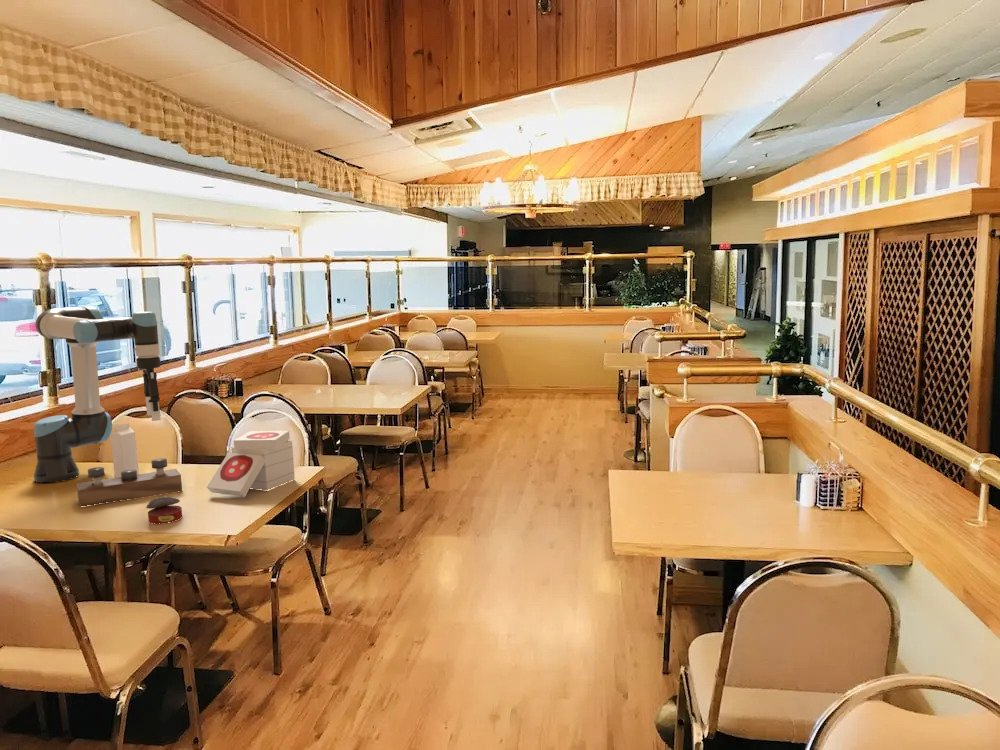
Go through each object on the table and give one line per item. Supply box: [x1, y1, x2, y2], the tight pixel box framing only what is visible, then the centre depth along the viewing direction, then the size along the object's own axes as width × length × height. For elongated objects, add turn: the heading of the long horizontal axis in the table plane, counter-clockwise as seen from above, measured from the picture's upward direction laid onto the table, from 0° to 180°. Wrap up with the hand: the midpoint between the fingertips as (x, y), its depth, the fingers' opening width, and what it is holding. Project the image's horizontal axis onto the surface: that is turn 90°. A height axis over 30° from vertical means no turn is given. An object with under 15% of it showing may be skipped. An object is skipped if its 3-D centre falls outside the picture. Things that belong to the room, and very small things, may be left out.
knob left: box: [87, 466, 106, 486], centre depth 269 cm, size 5×5×7 cm
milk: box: [110, 422, 140, 478], centre depth 291 cm, size 6×6×22 cm
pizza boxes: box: [206, 430, 296, 498], centre depth 279 cm, size 19×30×18 cm, turn 156°
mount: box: [76, 468, 183, 508], centre depth 274 cm, size 10×32×6 cm, turn 121°
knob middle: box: [121, 470, 137, 481], centre depth 274 cm, size 5×5×7 cm
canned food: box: [145, 496, 183, 525], centre depth 248 cm, size 11×10×10 cm
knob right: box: [151, 457, 168, 476], centre depth 279 cm, size 5×5×7 cm
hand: (153, 417), depth 276 cm, fingers open, 12 cm apart
